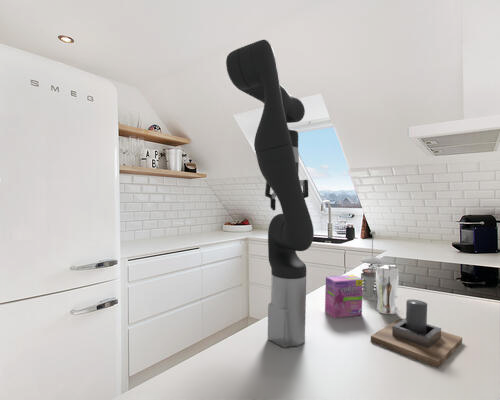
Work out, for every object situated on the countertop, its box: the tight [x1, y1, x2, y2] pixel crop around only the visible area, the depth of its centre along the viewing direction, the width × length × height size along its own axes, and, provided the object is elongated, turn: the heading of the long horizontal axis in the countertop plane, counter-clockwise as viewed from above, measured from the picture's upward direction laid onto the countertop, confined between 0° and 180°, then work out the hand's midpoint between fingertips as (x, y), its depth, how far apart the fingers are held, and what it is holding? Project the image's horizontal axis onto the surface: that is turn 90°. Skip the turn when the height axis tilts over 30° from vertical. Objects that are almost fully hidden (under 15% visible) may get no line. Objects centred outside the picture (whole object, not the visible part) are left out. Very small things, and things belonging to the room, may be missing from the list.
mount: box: [370, 317, 463, 369], centre depth 80 cm, size 18×16×4 cm
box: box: [324, 274, 364, 319], centre depth 99 cm, size 10×6×12 cm, turn 105°
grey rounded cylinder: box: [405, 299, 428, 335], centre depth 80 cm, size 5×5×9 cm
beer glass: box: [375, 263, 399, 316], centre depth 101 cm, size 7×7×15 cm
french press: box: [360, 230, 384, 302], centre depth 115 cm, size 10×12×25 cm
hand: (286, 210), depth 102 cm, fingers open, 8 cm apart
